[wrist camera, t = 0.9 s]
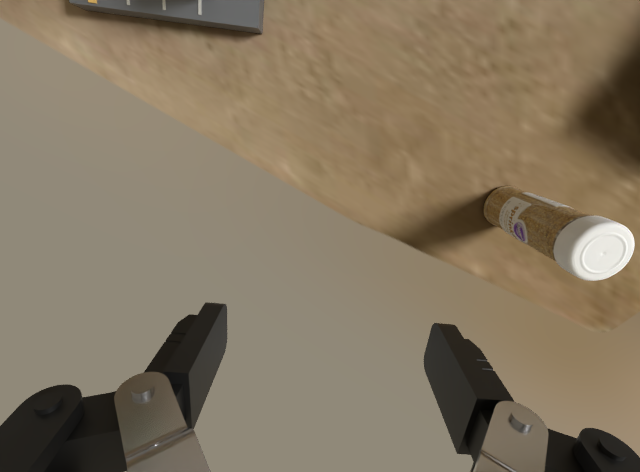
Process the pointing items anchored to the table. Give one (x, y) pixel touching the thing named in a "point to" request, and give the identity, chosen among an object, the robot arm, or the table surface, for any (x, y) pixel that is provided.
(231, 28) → the console
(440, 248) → the table surface
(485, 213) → the sprinkles bottle
